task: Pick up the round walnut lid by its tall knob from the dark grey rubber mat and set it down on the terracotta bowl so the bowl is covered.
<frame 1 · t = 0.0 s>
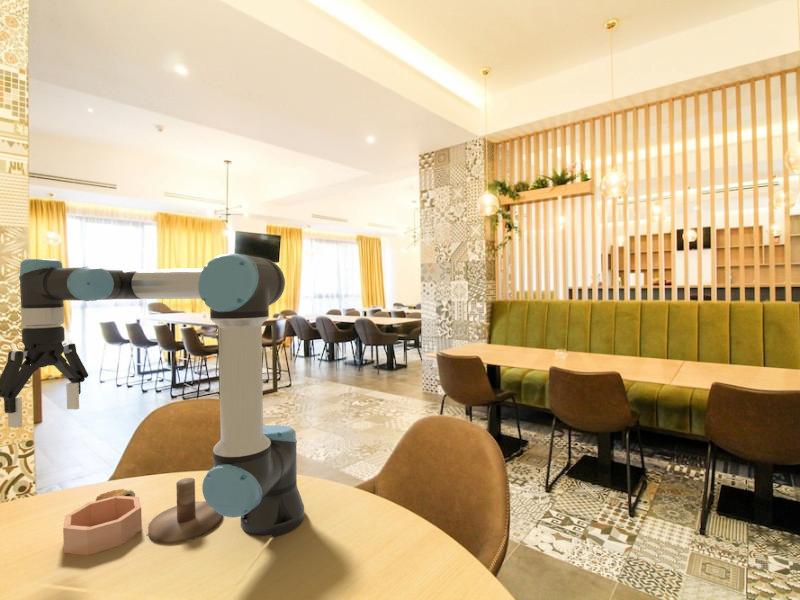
hand: (46, 417, 97), 28 cm above the table, fingers open, 13 cm apart
mat: (186, 525, 102), on the table
pastry: (115, 505, 113), on the table
bowl: (104, 536, 97), on the table
lid: (186, 522, 102), point 1 cm above the table, touching mat
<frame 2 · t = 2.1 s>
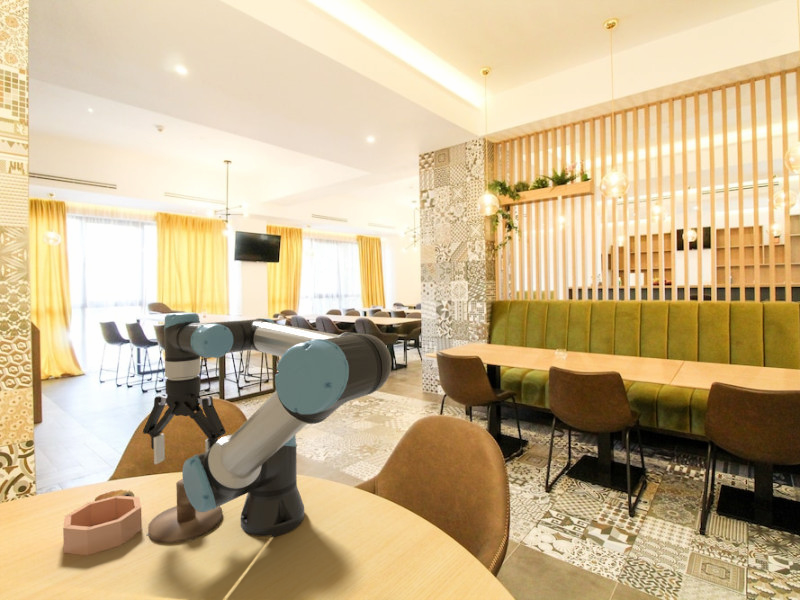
hand: (184, 463, 102), 15 cm above the table, fingers open, 13 cm apart
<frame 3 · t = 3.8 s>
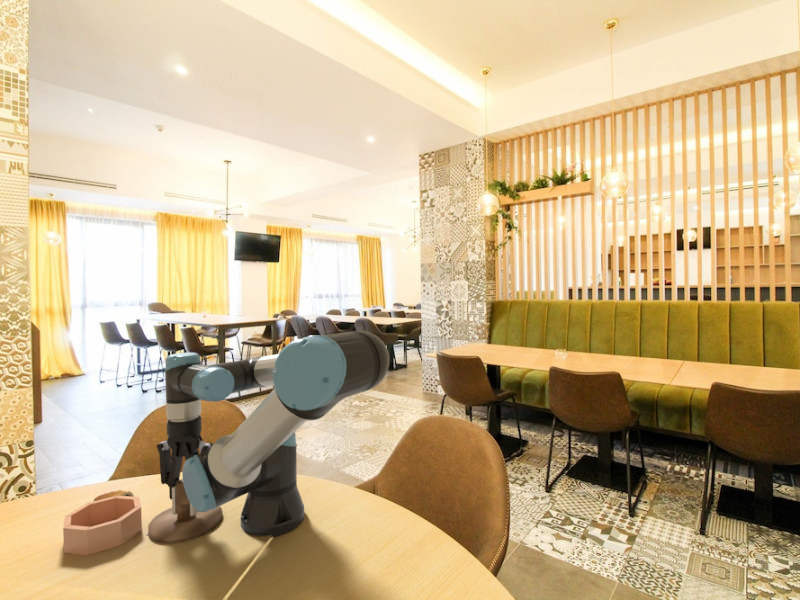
hand: (186, 512, 102), 3 cm above the table, fingers closed on lid, 4 cm apart
lid: (186, 522, 102), point 1 cm above the table, touching gripper, mat
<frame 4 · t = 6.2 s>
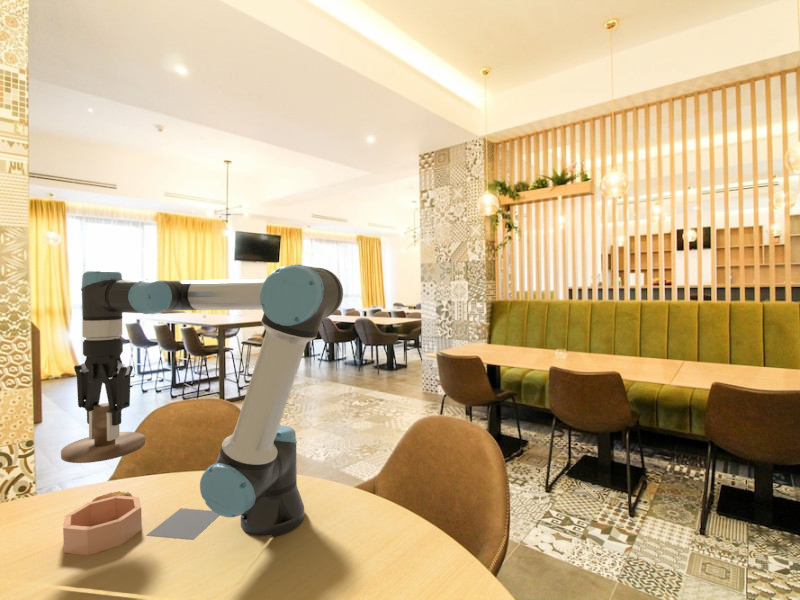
hand: (104, 437, 97), 23 cm above the table, fingers closed on lid, 4 cm apart
lid: (105, 448, 97), point 21 cm above the table, touching gripper
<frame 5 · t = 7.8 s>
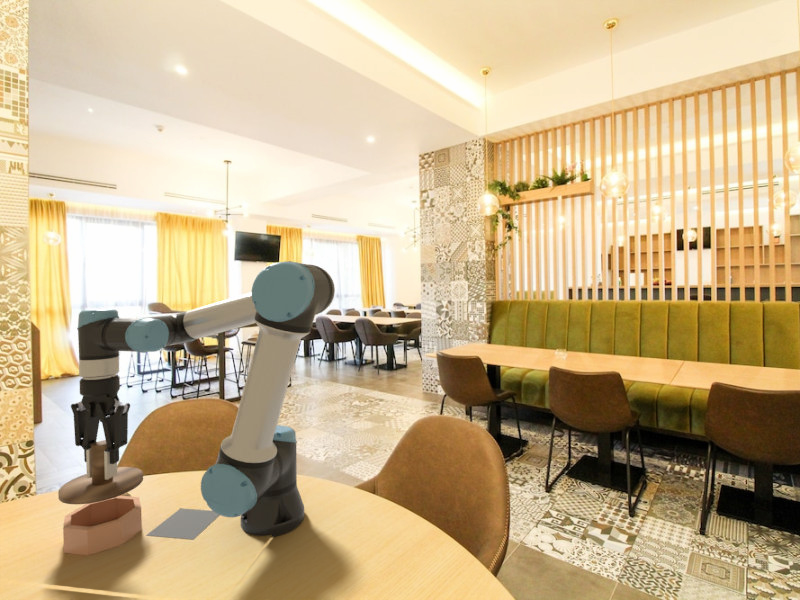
hand: (102, 475, 97), 14 cm above the table, fingers closed on lid, 4 cm apart
lid: (102, 486, 97), point 12 cm above the table, touching gripper
when the fingers open (10 cm above the table, at t = 8.9 s): lid drops 2 cm, resting on bowl.
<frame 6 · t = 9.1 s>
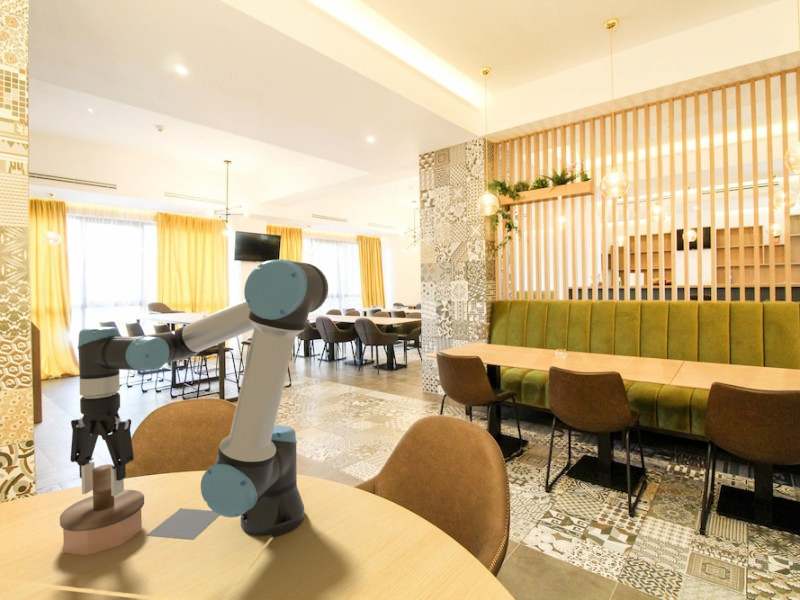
hand: (103, 492, 97), 11 cm above the table, fingers open, 7 cm apart
lid: (104, 511, 97), point 6 cm above the table, touching bowl
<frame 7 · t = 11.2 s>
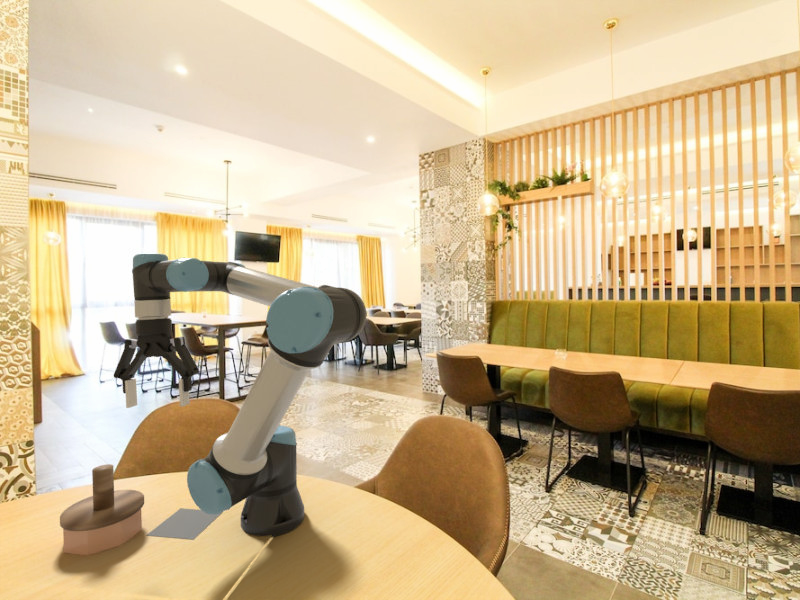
hand: (158, 405, 101), 29 cm above the table, fingers open, 13 cm apart
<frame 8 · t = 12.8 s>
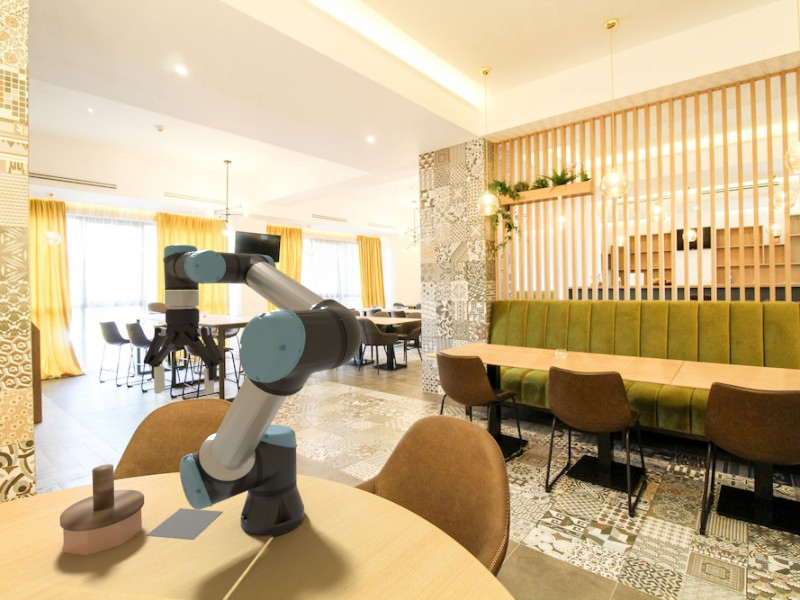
hand: (184, 392, 104), 32 cm above the table, fingers open, 13 cm apart
at the end: lid 0.1 cm off-centre on the bowl, point 6.0 cm above the bowl's base; lid tilted 0°; the gripper is holding nothing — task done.
